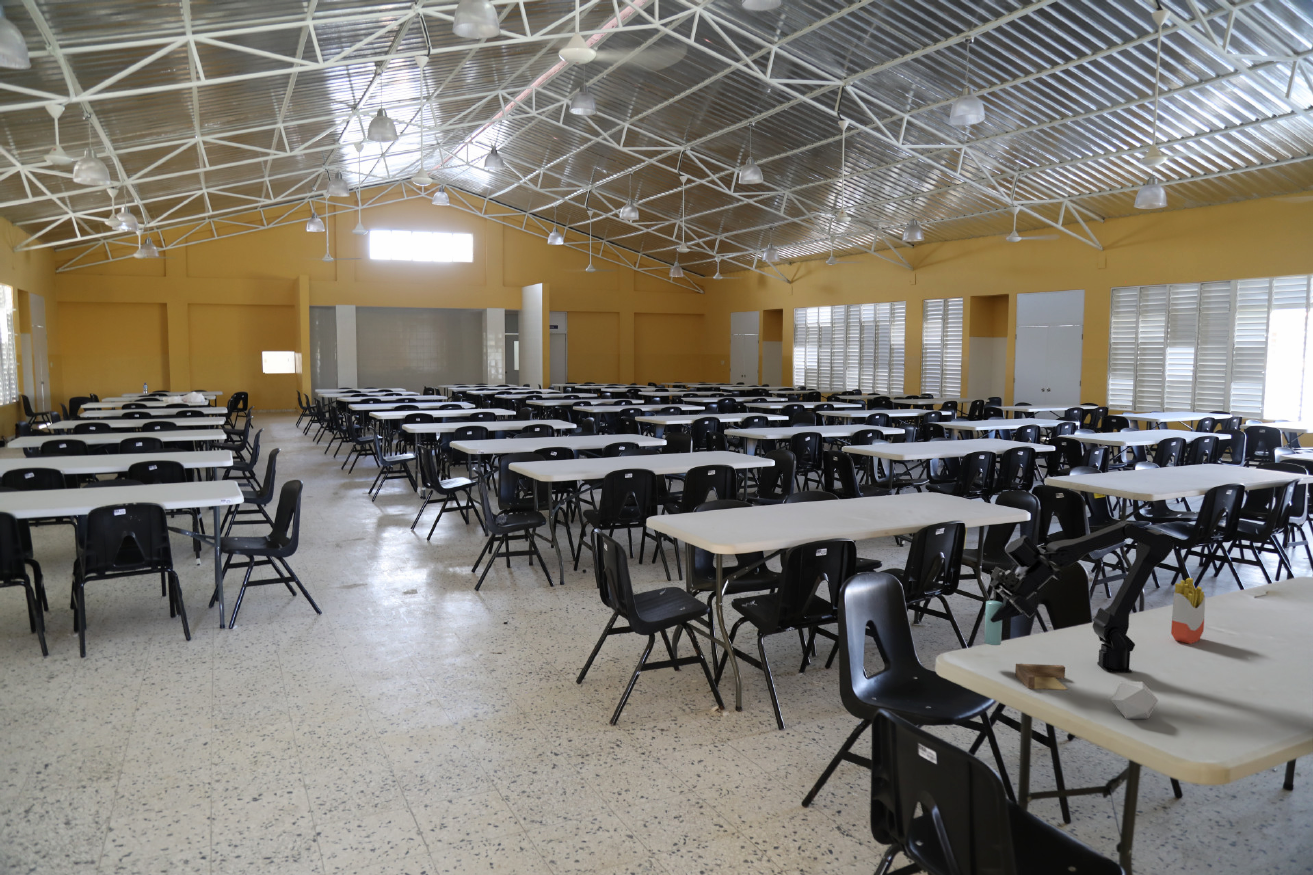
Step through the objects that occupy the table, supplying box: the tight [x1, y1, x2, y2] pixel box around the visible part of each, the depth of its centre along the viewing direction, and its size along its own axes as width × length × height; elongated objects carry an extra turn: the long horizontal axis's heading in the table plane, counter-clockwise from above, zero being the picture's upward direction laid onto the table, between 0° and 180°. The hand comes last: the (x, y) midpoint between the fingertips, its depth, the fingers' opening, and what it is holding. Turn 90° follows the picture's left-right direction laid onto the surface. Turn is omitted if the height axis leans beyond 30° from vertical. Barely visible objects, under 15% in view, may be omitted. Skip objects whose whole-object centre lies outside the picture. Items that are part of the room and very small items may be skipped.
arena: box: [1014, 663, 1068, 691], centre depth 219 cm, size 12×10×3 cm
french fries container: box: [1170, 577, 1206, 645], centre depth 253 cm, size 5×11×18 cm, turn 124°
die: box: [1110, 681, 1159, 720], centre depth 198 cm, size 8×9×10 cm
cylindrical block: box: [984, 600, 1003, 646], centre depth 230 cm, size 4×4×11 cm
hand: (988, 618), depth 230 cm, fingers closed on cylindrical block, 4 cm apart
